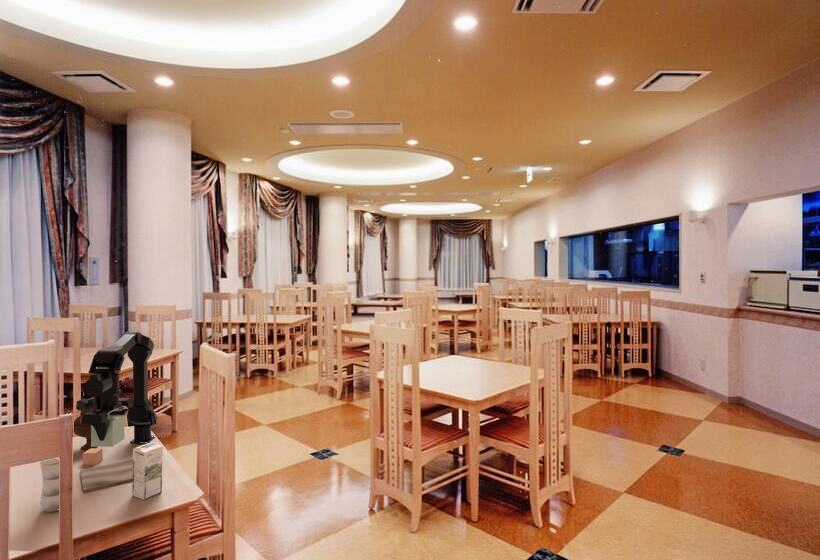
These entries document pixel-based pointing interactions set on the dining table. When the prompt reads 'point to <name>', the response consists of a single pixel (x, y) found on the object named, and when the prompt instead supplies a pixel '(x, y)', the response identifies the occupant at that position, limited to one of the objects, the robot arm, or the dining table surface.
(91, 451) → the terracotta cube
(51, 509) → the plastic bottle
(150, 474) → the syrup box
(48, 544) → the dining table surface
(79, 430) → the ice cream bowl
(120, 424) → the mint green cube
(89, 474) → the walnut board
